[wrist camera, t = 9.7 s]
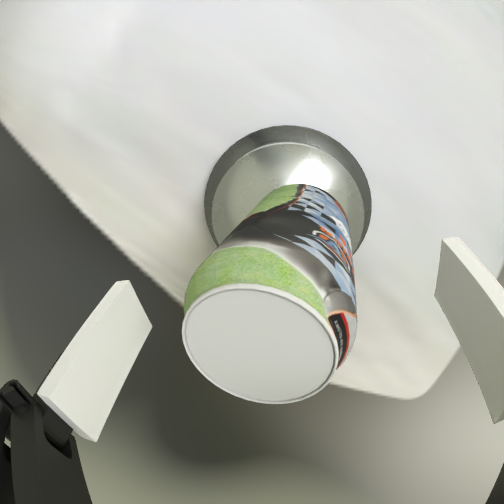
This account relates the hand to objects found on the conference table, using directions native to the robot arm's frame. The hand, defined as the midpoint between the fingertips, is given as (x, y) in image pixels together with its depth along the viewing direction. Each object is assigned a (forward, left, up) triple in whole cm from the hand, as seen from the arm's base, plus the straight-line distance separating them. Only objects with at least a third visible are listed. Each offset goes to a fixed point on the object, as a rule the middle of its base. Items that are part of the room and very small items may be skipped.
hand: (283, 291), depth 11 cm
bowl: (0, 0, -11) cm, 11 cm away
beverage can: (0, 0, -8) cm, 8 cm away
